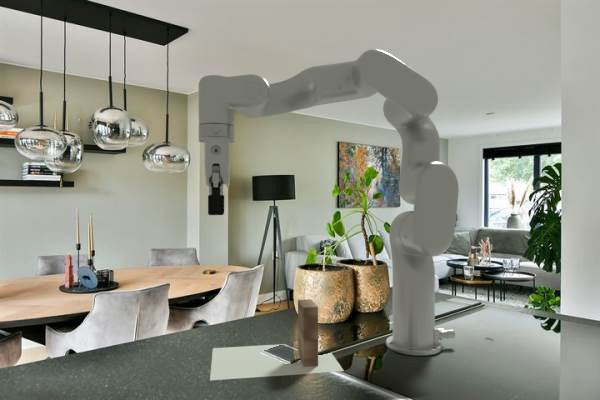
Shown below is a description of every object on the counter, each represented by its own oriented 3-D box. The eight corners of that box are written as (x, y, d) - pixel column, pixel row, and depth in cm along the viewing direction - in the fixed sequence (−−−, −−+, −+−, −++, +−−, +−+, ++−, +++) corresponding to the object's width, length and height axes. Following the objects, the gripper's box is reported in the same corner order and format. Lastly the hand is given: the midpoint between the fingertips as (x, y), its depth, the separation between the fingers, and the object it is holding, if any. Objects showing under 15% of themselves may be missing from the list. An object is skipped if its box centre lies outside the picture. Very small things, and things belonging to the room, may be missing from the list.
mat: (323, 343, 103) (323, 341, 103) (344, 373, 86) (344, 370, 86) (212, 350, 99) (212, 348, 99) (209, 382, 81) (209, 380, 81)
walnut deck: (311, 353, 95) (311, 299, 95) (318, 365, 88) (318, 307, 88) (298, 354, 95) (297, 299, 95) (303, 366, 88) (303, 307, 88)
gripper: (234, 128, 86) (235, 215, 86) (233, 140, 103) (233, 213, 103) (195, 127, 84) (196, 215, 84) (201, 140, 101) (201, 213, 101)
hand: (216, 214), depth 93 cm, fingers open, 9 cm apart
